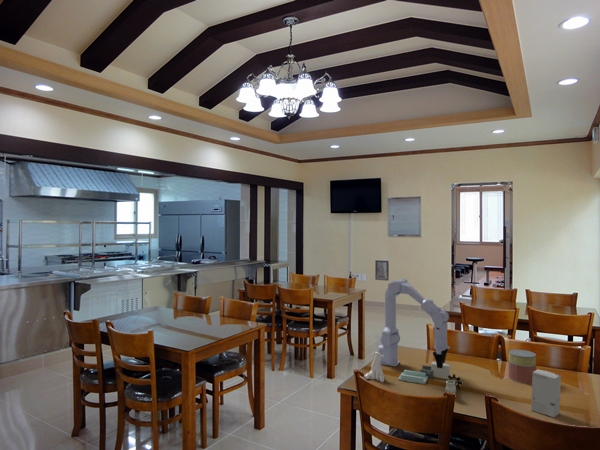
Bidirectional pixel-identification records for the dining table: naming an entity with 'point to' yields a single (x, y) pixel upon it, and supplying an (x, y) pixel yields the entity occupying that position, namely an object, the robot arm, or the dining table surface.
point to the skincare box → (546, 393)
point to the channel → (427, 371)
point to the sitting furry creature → (376, 368)
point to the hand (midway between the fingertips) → (441, 365)
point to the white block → (440, 370)
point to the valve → (452, 384)
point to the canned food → (521, 365)
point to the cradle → (413, 377)
